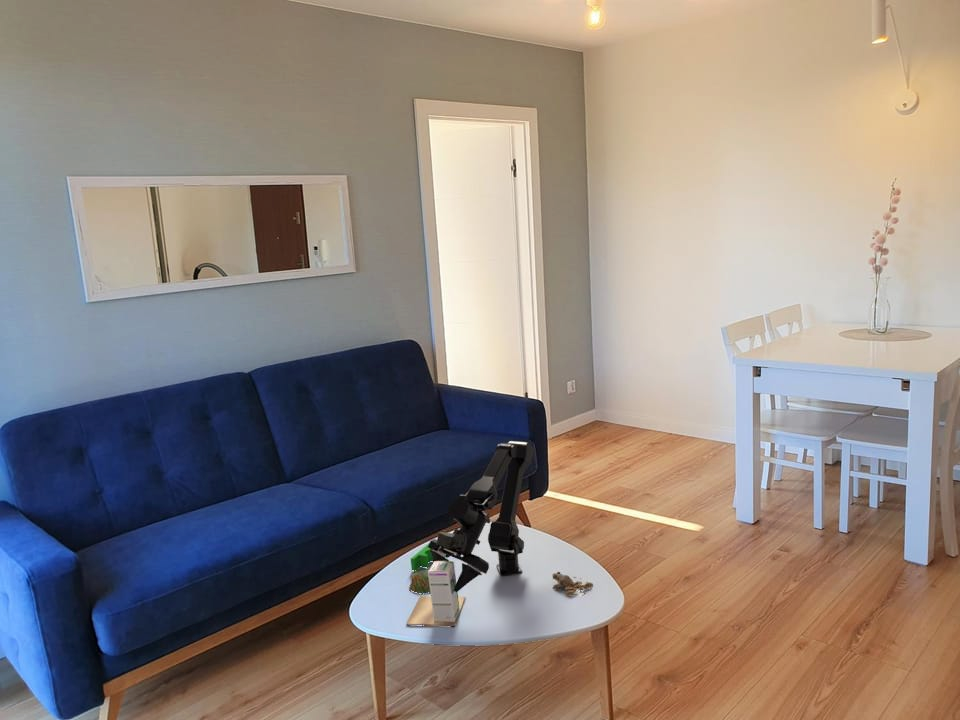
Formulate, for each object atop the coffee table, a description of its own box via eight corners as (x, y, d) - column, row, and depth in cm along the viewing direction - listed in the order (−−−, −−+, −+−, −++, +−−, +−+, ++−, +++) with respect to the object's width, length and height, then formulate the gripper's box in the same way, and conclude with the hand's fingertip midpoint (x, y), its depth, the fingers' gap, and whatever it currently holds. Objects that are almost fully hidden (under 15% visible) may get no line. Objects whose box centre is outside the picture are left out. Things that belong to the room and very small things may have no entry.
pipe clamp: (422, 574, 221) (420, 560, 221) (412, 572, 223) (410, 558, 222) (441, 557, 231) (440, 543, 230) (431, 555, 233) (429, 542, 232)
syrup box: (454, 622, 192) (449, 571, 190) (433, 621, 194) (427, 570, 191) (459, 610, 198) (454, 560, 195) (438, 610, 199) (433, 560, 196)
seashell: (422, 584, 207) (400, 574, 214) (423, 598, 207) (401, 587, 215) (449, 573, 214) (427, 563, 221) (450, 586, 214) (427, 576, 222)
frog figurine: (540, 593, 205) (539, 581, 204) (562, 574, 214) (562, 562, 213) (576, 604, 198) (576, 591, 197) (598, 584, 207) (597, 571, 207)
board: (406, 625, 194) (406, 623, 194) (420, 597, 208) (420, 595, 207) (454, 627, 192) (454, 624, 191) (465, 598, 205) (465, 596, 205)
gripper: (429, 511, 201) (401, 564, 196) (476, 528, 188) (448, 586, 183) (453, 527, 208) (427, 579, 203) (501, 545, 195) (474, 601, 189)
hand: (443, 586), depth 194 cm, fingers open, 9 cm apart
